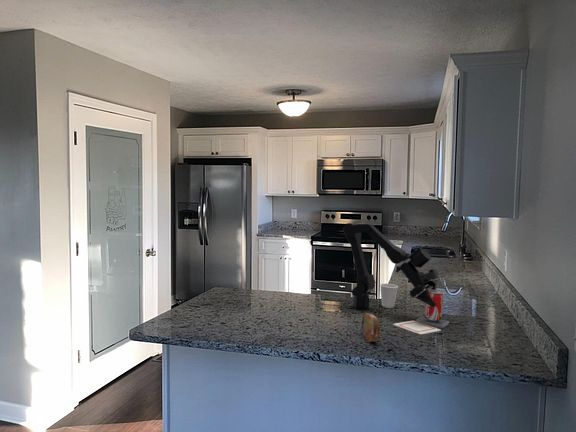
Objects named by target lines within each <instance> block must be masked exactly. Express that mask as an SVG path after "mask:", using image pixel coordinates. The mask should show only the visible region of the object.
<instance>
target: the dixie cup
mask: <svg viewBox="0 0 576 432" xmlns="http://www.w3.org/2000/svg"><path fill="white" fill-rule="evenodd" d="M379 286H380V297H381V299H380V300H381V307H382V306H383V308H386V309H393V308H395V303H396V299H397V294H398V288H399V286H398V285H397V284H393V283H380V285H379Z"/></svg>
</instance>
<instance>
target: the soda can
mask: <svg viewBox="0 0 576 432" xmlns="http://www.w3.org/2000/svg"><path fill="white" fill-rule="evenodd" d="M428 294H429V296H430V297H431V299H432V300H433V302H434V304H435V307H432V306H430V305H428V304H426V303H425V302H424V306H423V307H424V310H423V316H424V317H425V318H426V319H427V320H429V321H439V320H442V317H443V306H444V295H443V292H442V290H439V289H436V290H435V289H429V290H428Z"/></svg>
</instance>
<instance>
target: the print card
mask: <svg viewBox="0 0 576 432" xmlns="http://www.w3.org/2000/svg"><path fill="white" fill-rule="evenodd" d="M392 325H393V326H395V327H398V328H401V329H404V330H407V331H410V332H413V333H415V334H418V335H427V334H431V333H436V332H437V333H438V332H441V331H442V329H441V328H440V329H439V328H438V327H434V326H430V325H425V324H422V323H419V322H416V320H409V321H408V320H407V321H403V322H396V323H392Z"/></svg>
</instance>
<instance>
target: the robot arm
mask: <svg viewBox="0 0 576 432" xmlns="http://www.w3.org/2000/svg"><path fill="white" fill-rule="evenodd" d="M342 231H343V233H344V236H345V238H346V239H347V241H348V242H349V245H350V249H351V253H352V256H353V261H354V264H355V268H356V273H357V276H356V279H355V280H356V286H355V287H354V288H352V289H351V294H352V297H353V299H352V305H350V306H351V308H354V309H355V310H357V311H358V310H363V311H364V310H371V308H370V294H371V292H372V291H373V290H374V288H375V286H376V283H377V282H376V281H375V275H374V274H370V272H369V271H368V268H367V264H366V259H365V255H364V251H363V246H362V241H361V239H362V233H366V234H367V235H368V236H369V237H370V238H371V239H372V240H373V241H374V242H375V243H376V244H378V246H379V247H380V248H381V249H382V250H384V252H385V254H386V256H387V258H388V259H389V260H390V262H391V263H392V264H395V265H397V266H396V270H395V273H400V272H401V273H402V274H403V275H404V276H405V278H406V279H407V283H408V284H410V285H412V287H413V288H412V289H411V290H410V291H409V295H410V297H411V298H412V299H414V298H415V299H416V300H419V301H421V302H423V303H424V304H425V303H426V304H428V305H430V306H432V307H435V304H434V302H433V300H432V299H431V297H430V296H429V294H428V290H429V289H435V290H437V287H438V285H439V282H437V280H436V279H438V278H439V277H440V276H439V272H438V271H437V270H436V269H434V268H431V269H429V270H428V272H426V273H424V272H423V271H420V270H419V269H422V268H423V267H424V266H426V265H427V264H428V263H429V262H430V261H432V256H431V255H430V254H429V252H427V251H426V250H425V249H422V248H423V247H418V248H416V250H415V251H414V252H413V253H412V254H411V253H408V252H406V250H404V249H402V248H401V247H400V246H398V245H395V244H394V243H393V242H392V241H390V240H389V239H388V237H386V236H385V235H384V234H383V233H381V231H380V230H379V229H378V228H376V227H375V225H374V224H373V223H364V224H359V223H357V222H348V223H345V224H344V226H343V229H342ZM406 261H407V262H406ZM398 264H400V265H398ZM418 268H419V269H418Z"/></svg>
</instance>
